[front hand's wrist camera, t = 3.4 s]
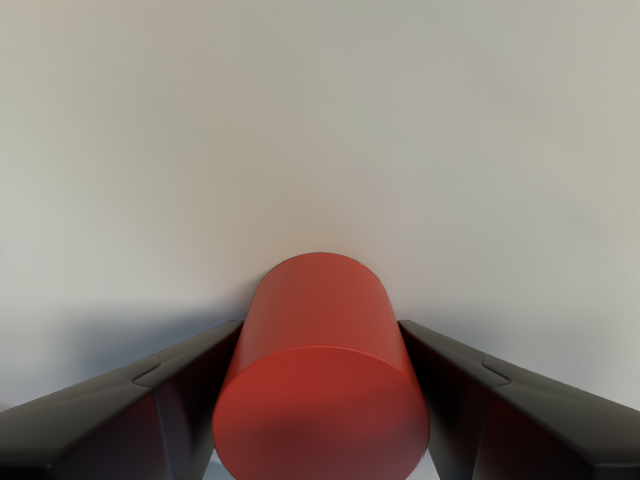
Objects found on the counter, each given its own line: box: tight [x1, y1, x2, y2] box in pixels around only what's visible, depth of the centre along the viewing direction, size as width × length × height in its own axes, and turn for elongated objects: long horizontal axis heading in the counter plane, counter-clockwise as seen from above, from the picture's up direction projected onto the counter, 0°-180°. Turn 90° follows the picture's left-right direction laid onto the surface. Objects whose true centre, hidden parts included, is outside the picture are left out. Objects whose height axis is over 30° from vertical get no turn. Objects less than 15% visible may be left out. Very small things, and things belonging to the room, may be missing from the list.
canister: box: [212, 253, 431, 480], centre depth 10 cm, size 5×5×5 cm
